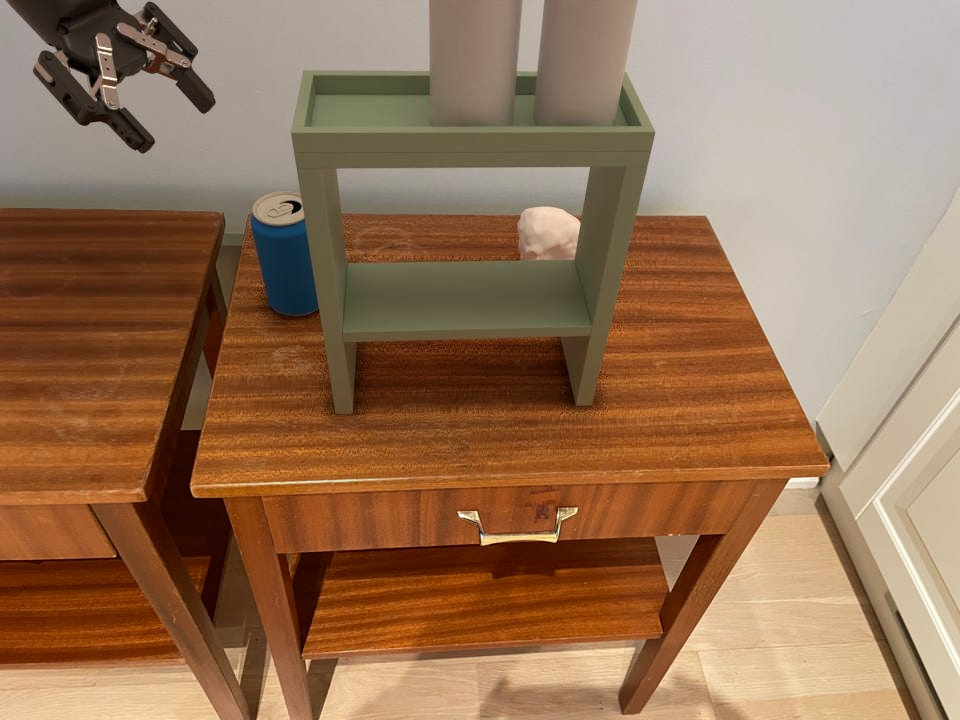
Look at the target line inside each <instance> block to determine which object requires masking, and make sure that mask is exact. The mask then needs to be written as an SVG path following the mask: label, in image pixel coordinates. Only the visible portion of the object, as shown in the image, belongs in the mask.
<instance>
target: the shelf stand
mask: <svg viewBox="0 0 960 720" xmlns="http://www.w3.org/2000/svg"><path fill="white" fill-rule="evenodd" d="M647 171H648V166H647V167H589V170H588V178H587V183H586V189H585V194H584V201H583V206H582V213H581V219H580V223H581V224H580V230H579V236H578V241H577V247H576V253H575V259H574V260H521V259H518V260H467V261H466V260H465V261H464V260H462V261H410V262H409V261H408V262H407V261H405V262H403V261H402V262H401V261H400V262H348V257H347V250H346V242H345V241H346V240H345V233H344V232H345V231H344V222H343V214H342V206H341V195H340V189H339V179H338V170H337V169H297V168H296V174H297V179H298V186H299V193H301V199H302V205H303V212H304V218H305V224H306V231H307V237H308V243H309V250H310V256H311V262H312V268H313V275H314V281H315V287H316V294H317V300H318V306H319V309H318V312H319V319H320V325H321V330H322V331H321V332H322V336H323V343H324V349H325V356H326V364H327V367H328V368H327V369H328V374H329V381H330V382H329V383H330V387H331V393H332V400H333V406H334V412H335V415H352V414H354V399H355V397H354V396H355V382H356V381H355V379H356V364H357V363H356V361H357V345H358V344H357V343H366V342H368V343H370V342H371V343H372V342H403V341H404V342H407V341H408V342H409V341H437V340H438V341H443V340H444V341H445V340H446V341H447V340H481V339H482V340H483V339H518V338H519V339H520V338H521V339H522V338H525V339H526V338H559V337H560V340H561V341H560V342H561V346H562V350H563V356H564V361H565V364H566V369H567V373H568V377H569V378H568V379H569V382H570V386H571V390H572V395H573V400H574V405H575V407H590V406H593V402H594V399H595V395H596V390H597V385H598V381H599V378H600V377H599V376H600V372H601V369H602V364H603V361H604V356H605V351H606V346H607V342H608V339H609V334H610V330H611V325H612V320H613V316H614V312H615V309H616V304H617V299H618V295H619V291H620V287H621V283H622V279H623V274H624V270H625V264H626V262H627V257H628V253H629V248H630V244H631V240H632V235H633V231H634V227H635V222H636V218H637V214H638V210H639V205H640V201H641V196H642V193H643V188H644V183H645V179H646V177H647Z"/></svg>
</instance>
